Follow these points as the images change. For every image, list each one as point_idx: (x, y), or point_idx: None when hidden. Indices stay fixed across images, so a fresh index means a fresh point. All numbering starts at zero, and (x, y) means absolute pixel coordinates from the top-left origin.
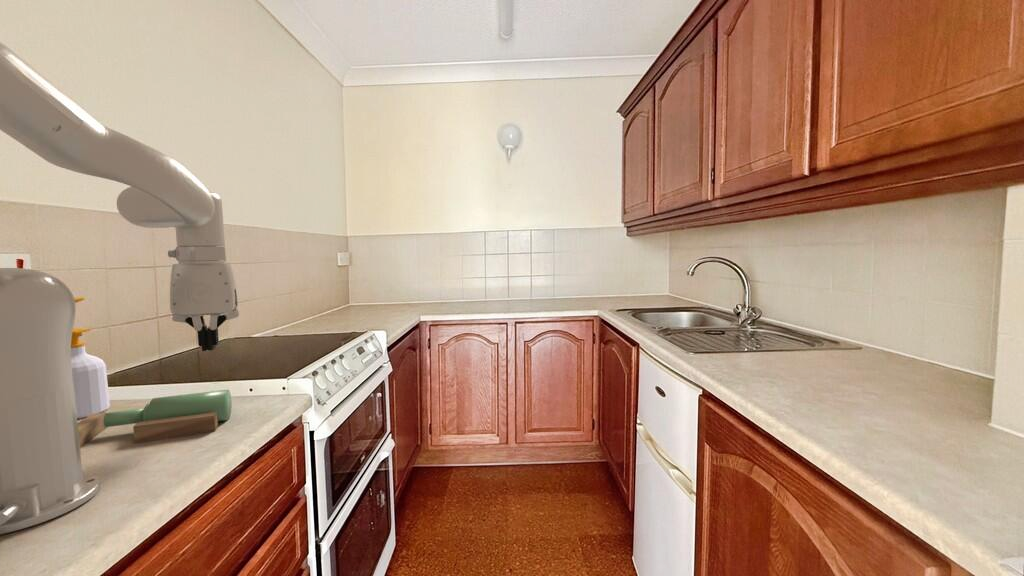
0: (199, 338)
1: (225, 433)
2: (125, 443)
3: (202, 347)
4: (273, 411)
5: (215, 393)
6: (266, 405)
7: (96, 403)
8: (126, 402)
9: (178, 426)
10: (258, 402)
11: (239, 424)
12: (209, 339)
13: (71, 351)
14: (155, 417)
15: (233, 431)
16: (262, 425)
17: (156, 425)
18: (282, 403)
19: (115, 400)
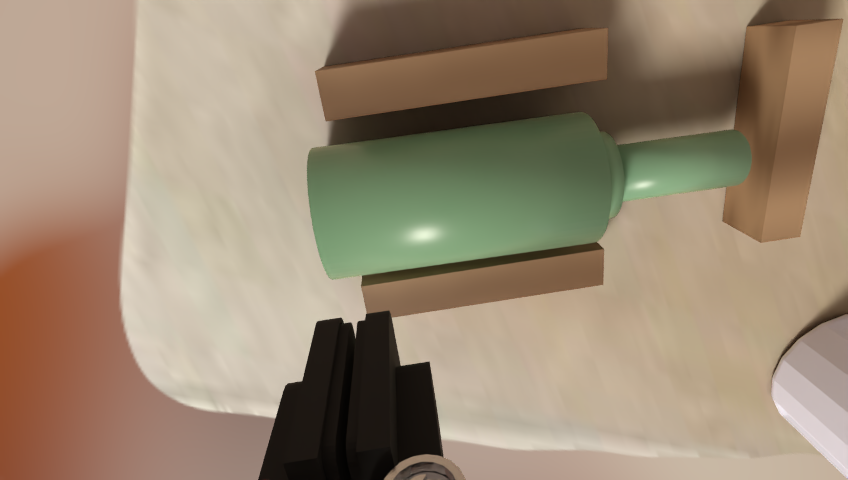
0: (422, 408)
1: (268, 24)
2: (610, 35)
3: (383, 324)
4: (182, 230)
5: (354, 212)
6: (245, 302)
7: (815, 370)
8: (735, 431)
9: (447, 50)
10: (293, 341)
11: (257, 116)
12: (314, 377)
13: None
14: (558, 116)
15: (244, 39)
16: (149, 75)
17: (525, 39)
18: (189, 310)
19: (771, 454)
